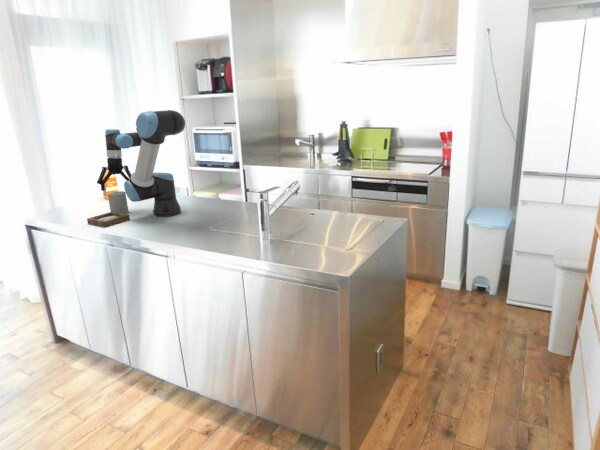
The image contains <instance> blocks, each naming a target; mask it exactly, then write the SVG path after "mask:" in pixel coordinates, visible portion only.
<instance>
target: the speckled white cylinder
mask: <svg viewBox="0 0 600 450" xmlns="http://www.w3.org/2000/svg"><path fill="white" fill-rule="evenodd" d="M107 195H108V199H109V200H108V203H109V204H108V205H109V210H110V212H117V213H122V214H128V215H130V214H129V213H130V212H129V205H128V199H127V194H126V192H125V190H124V191H122V190H121V191H119V190H118V192H112V193H108V194H107Z"/></svg>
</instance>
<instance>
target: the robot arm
mask: <svg viewBox="0 0 600 450" xmlns="http://www.w3.org/2000/svg"><path fill="white" fill-rule="evenodd" d="M135 127H136V132H127V133H121V130H120V129H119V128H118V129H116V128H107V129H105V135H104V136H105V148H106V157H107V161H106V162H107V167H106V166H102V167H101V171H100V175H99V176H98V179H97V182H96V184H99V185H100V190H101V191H102V196H103V197H104V196H105V197H107V192H106V185H104V184H105V183H106V182H107V180H108V179H109V177H110V176H111V175H112V174H113V175H120V176H122V177H123V179H124V180H125V181H124V184H123V187H124V192H126V197H127V198H128V199H129V201H131V202H135V203H137V202H141V201H142V202H143V201H146V200H150V199H154V203H153V204H154V205H153V210H152V214H153V216H154V217H157V218H158V217H160V218H161V217H162V218H163V217H166V218H167V217H172V216H176V215H179V214H181V213H182V208H181V206H180V203H179V201H178V200H177V196H176V187H175V179H174V175H173V173H169V172H154V170H155V166H156V162H157V159H158V156H159V155H158V154H159V151H160V146H161V145H162V144H163V143H164V142H165V139H166V137H168V136H176V135H178V134H181V133H182V132H183V131H184V130H185V127H186V120H185V117H184V116H183V115H182V114H181V112H179V111H176V110H173V109H170V110H169V109H168V110H156V111H154V110H153V111H152V110H149V111H145V112H144V111H143V112H141V113H139V114H138V116H137V118H136V120H135ZM134 147H139V151H138V157H137V161H136V165H135V171H134V172H133V173H131V171H130V170H129V167H128V166H129V165H127V164H126V165H125V164H123V159H122V157H123V155H122V149H123V150H124V149H125V150H126V149H129V148H134ZM107 169H108V170H109V171H108V173H107V175H106V176H105V177H104V175H105V173H106V171H107ZM123 170H124V171H125V172H124V171H123ZM125 173H126V174H125ZM103 178H104V179H103Z"/></svg>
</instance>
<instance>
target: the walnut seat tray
mask: <svg viewBox="0 0 600 450" xmlns="http://www.w3.org/2000/svg"><path fill="white" fill-rule="evenodd" d="M86 219H87V225H91V226H96V227H100V228H103V229H106V228H109V227H111V226H114V225H115V226H116V225H119V224H122V223H125V222H128V221H130V220H131V217H130V214H122V213H117V212H111V211H110V212H106V213H103V214H99V215H95V216H92V217H89V218H86Z"/></svg>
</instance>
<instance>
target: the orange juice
mask: <svg viewBox="0 0 600 450" xmlns="http://www.w3.org/2000/svg"><path fill="white" fill-rule="evenodd" d="M108 171H109V170H108V169H107V171H106V173H105V175H104V177H105V176H106V175H107V173H108ZM103 179H104V178H103ZM104 185H106V192H107V194H108V193H112V192H119V187H118V186H119V185H118V181H117V176H116V175H115V174H112V175H111V176H110V177H109V179H108V180H107V182H106V183H105V184H104ZM103 199H105V200H106V201H109V199H108V195H107V197H105V196H103Z"/></svg>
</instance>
